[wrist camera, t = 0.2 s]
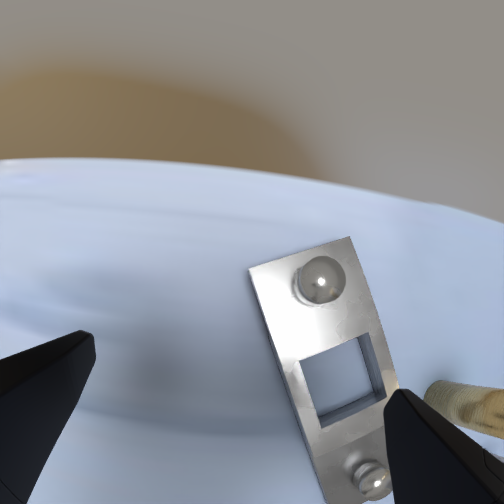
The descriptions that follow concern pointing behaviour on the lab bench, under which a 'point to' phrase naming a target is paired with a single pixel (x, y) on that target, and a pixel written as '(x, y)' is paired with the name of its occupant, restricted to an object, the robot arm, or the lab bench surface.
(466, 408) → the brass pin
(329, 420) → the metal bracket
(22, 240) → the lab bench surface
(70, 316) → the lab bench surface
